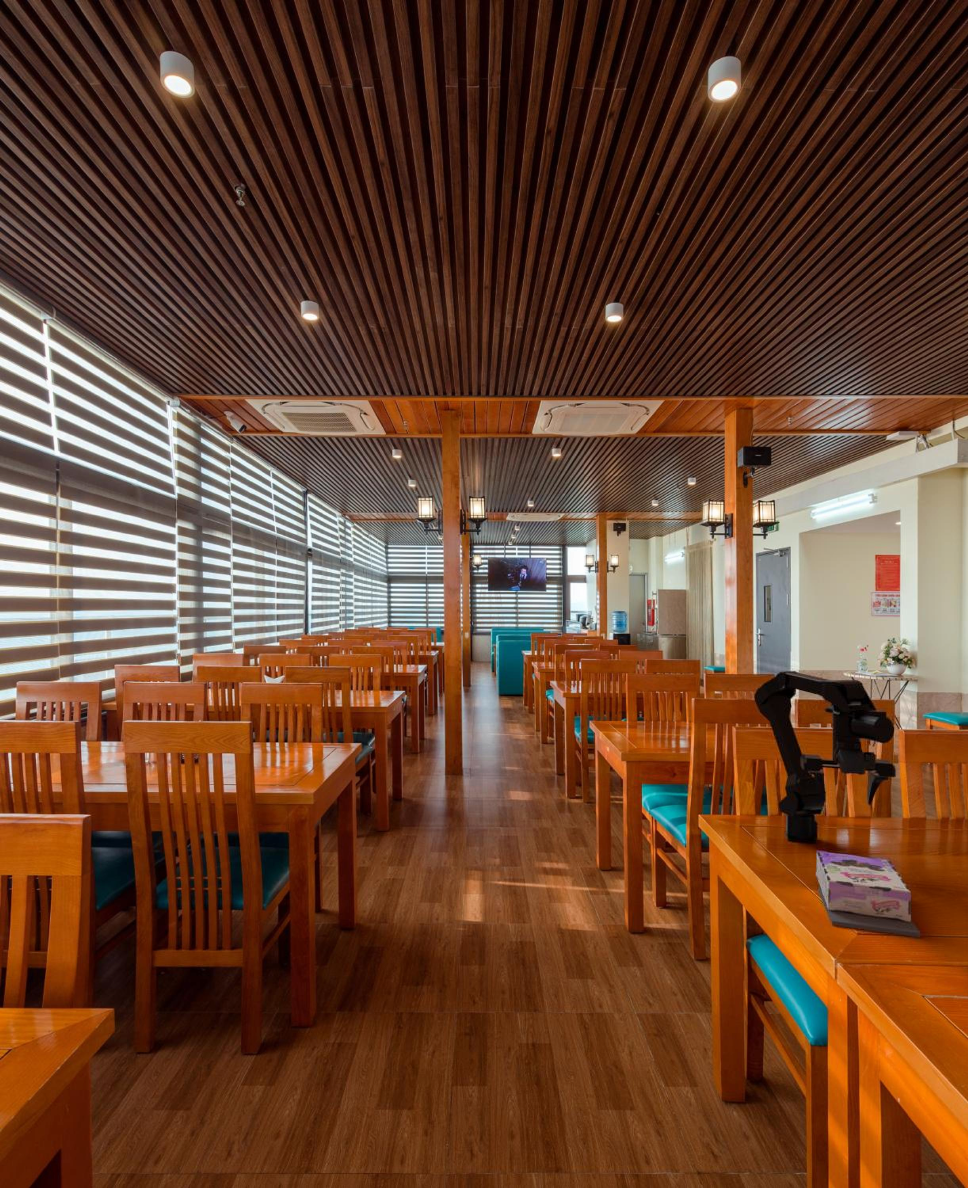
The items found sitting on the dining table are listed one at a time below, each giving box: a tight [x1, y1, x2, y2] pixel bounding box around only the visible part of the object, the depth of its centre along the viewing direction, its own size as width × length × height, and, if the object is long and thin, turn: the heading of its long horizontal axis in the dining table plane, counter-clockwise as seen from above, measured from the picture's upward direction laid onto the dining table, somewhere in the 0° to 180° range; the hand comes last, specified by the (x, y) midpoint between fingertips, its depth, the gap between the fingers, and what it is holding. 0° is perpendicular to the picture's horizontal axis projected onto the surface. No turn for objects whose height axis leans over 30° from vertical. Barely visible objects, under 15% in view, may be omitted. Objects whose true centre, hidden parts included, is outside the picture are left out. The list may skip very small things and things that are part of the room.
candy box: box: [815, 850, 912, 922], centre depth 132 cm, size 14×6×16 cm
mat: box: [817, 887, 921, 938], centre depth 128 cm, size 14×15×1 cm
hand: (846, 802), depth 154 cm, fingers open, 9 cm apart
